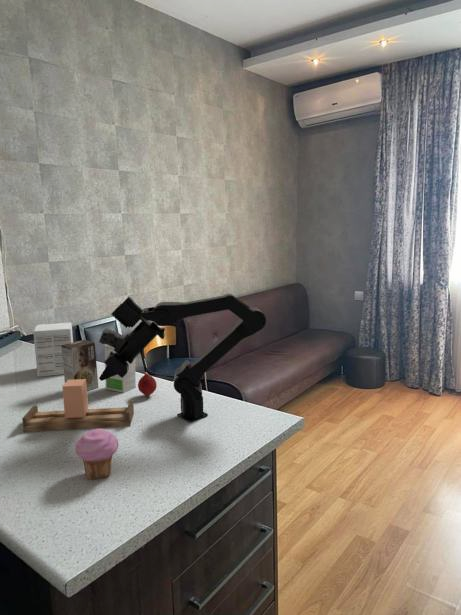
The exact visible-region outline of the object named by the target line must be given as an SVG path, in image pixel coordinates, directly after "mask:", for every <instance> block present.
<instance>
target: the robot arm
mask: <svg viewBox="0 0 461 615" xmlns="http://www.w3.org/2000/svg"><path fill="white" fill-rule="evenodd" d="M227 310H228V311H229V312H231V313H232V314H234V315H235V316H237V317H238V319H237V320H236V322H235V323H234V325H233V327H232V328H231V329H229V331H228V332H226V333H225V334H224V335H223V336H222V337H221V338H220V339H218V340H217V341H216V342H215V343H214V344H213V345H212V346H211V347H209V348H208V349H207V350H206V351H205V352H203V354H202V355H201V356H199V357H198V358H197V359H196V360H194V361H192V362H190V361H189V360H188V359H186V360H185V361H184V362H183V363H182V365H180V366H179V367H176V371H175V373H174V378H173V388H174V390H175V391H176V393H178V394H180V412H179V413H177V414H176V416H177V417H178V418H181V419H183V420H186V421H188V422H190V423H192V422H195V421H197V420H200V419H202V418H205V417H207V416H208V415H209V414H208V412H205V411H204V397H203V388H202V382H201V380H202V379H203V377H204V376H205V374H206V372H207V371H209V370H210V369H211V368H212V367H213V366H214V365H216V364H217V363H218V362H219V361H220V360H221V359H222V358H223V357H224V356H226V355H227V354H228V353H229V352H230V351H231V350H232V349H233V348H235V347H236V346H237V345H238V344H239V343H240V342H241V341H243V340H244V339H246V338H249V337H251V336H253V335H255V334H256V333H258V332H259V331H261V330H263V329H264V328H265V326H266V324H267V317H266V315H265V313H264V312H263V311H262V310H261V309H259V308H258V307H255V306H251V307H250V306H249V305H247V304H246V303H245V302H243V301H241V300H240V299H238V298H237V297H236V296H235V295H234V294H232V293H227V294H224V295H220V296H214V297H209V298H208V297H207V298H203V299H197V300H193V301H192V300H190V301H186V302H184V301H183V302H180V301H179V302H178V301H161V302H158V303H156V305H155V306H151V307H146V308H145V307H144V308H142V307H141V306H140V305H138V304H137V302H135V301H134V299H133V298H132V297H130V296H128V297H127V298H125V300H123V302H122V303H120V304H119V305H118V306H117V307H116V308H115V309H114V310H113V311H112V312H111V314H110V315H111V316H112V317H113V318H114V319H115V320H117V321H118V322H119V323H120V324H121V325H122V326H123V327H125V329H126V328H131V329H132V328H133V327H135V325H136V324H137V325H136V327H135V328H134V329H133V330H132V331H131V332H129V333H126V335H123V334H121V333H120V332H117V331H113V330H112V329H110V328H109V329H108V328H105V329H104V330H102V333H101V336H100V338H99V341H98V342H99V343H100V344H102V345H105V344H106V345H109V346H111V347H114V348H115V349H114V351H115V353H113V352H110V354H109V356H108V357H107V359H106V360H105V359H104V365H105V364H106V365H107V366H106V368H105V367H104V370H103V371H102V373H101V374H100V376H98V380H100V381H101V382H102V381H106V379H108V378H110V377H112V376H115V375H117V374H118V375H119V376H120V377H122V378H123V377H124V376H125V375H126V374H127V372H128V370H129V364H128V363H127V361H128V362H129V363H130V364H131V363H132V362H133V361H134V359H135V360H136V358H137V357H138V356H139V355H140V354H142V353H143V352H144V351H145V349H146V348H147V346H149V344H151V342H152V341H154V339H155V338H156V337H157V336H158V337H159V338H160V339H161V340H164V339H165V336H166V335H165V331H166V326H169V325H171V324H175V323H177V322H180V321H182V320H183V319H185V318H186V319H187V318H189V317H195V316H200V315H205V314H211V313H216V312H220V311H221V312H222V311H227ZM138 323H139V324H138Z"/></svg>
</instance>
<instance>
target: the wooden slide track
mask: <svg viewBox="0 0 461 615" xmlns="http://www.w3.org/2000/svg"><path fill="white" fill-rule="evenodd" d="M134 407H135V406H134V400H129V402H128V405H127V406H126V407H125V406H124V407H107V408H106V407H104V408H88V411H87V413H86V416H84V417H79V418H65V412H64V410H49V411H47V410H46V411H38V410H39V409H38V405H33V406H32V407H31V408H30V409H29V410H28V412H27V413H25V415H24V416H23V417H22V418H21V419H22V420H21V421H22V426H23V427H22V428H23V433H34V432H35V433H36V432H51V431H52V432H53V431H68V430H83V429H104V428H105V429H106V428H118V427H119V428H123V427H124V428H125V427H131V424H132V421H133V418H134V414H135V410H134V409H135V408H134Z"/></svg>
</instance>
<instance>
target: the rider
mask: <svg viewBox="0 0 461 615" xmlns="http://www.w3.org/2000/svg"><path fill="white" fill-rule="evenodd" d="M62 397H63V398H62V399H63V409H64V410H63V411H64V412H65V418H79V417H84V416H86V413H87V411H88V409H89V400H88V391H87V385H86V379H76V380H67V382H66V383H65V382H64V384H63V385H62Z"/></svg>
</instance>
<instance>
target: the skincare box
mask: <svg viewBox="0 0 461 615" xmlns="http://www.w3.org/2000/svg"><path fill="white" fill-rule="evenodd" d="M103 345H104V361H105V360H106V359H107V357H108V356H109V354H110V352H113V353H115V351H114V349H115V348H114V347H111V346H109V345H106V344H103ZM127 363H128V364H129V370H128V372H127V374H126V375H125V376H124V377H123V378H122V377H120V376H119V375H118V374H117V375H115V376H112V377H110V378H108V379H105V389H106V390H110V391H114V392H118V393H119V392H120V393H125V394H126V393H127V392H128V391H131V390H133V389H134V388H135V389H136V384H137V381H136V379H137V378H136V358H135V359H134V361H133V362H132V363H131V364H130V363H129V362H128V361H127ZM106 366H107V365H106V364H105V363H104V369H105V368H106Z"/></svg>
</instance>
